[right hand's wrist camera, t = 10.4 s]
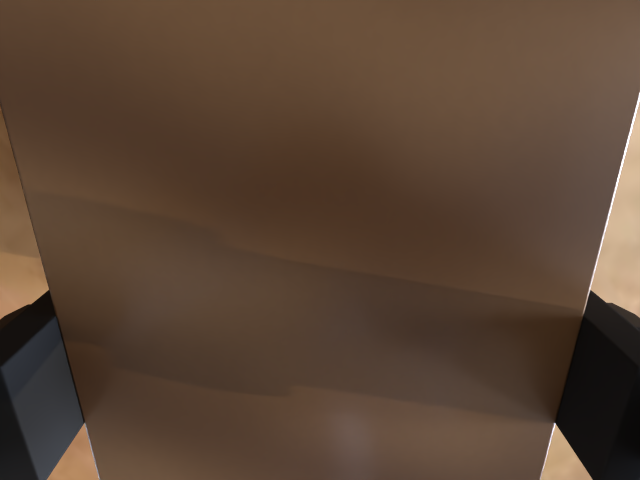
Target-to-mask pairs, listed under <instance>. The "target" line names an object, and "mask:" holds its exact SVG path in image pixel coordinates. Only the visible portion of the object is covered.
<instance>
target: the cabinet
mask: <svg viewBox="0 0 640 480" xmlns="http://www.w3.org/2000/svg"><path fill="white" fill-rule="evenodd" d="M639 100H640V0H0V105H1V109H2V112H3V116H4V120H5V124H6V128H7V131H8V135H9V139H10V143H11V147H12V150H13V154H14V158H15V162H16V165H17V169H18V173H19V177H20V181H21V184H22V188H23V192H24V196H25V200H26V203H27V207H28V211H29V215H30V219H31V222H32V226H33V230H34V234H35V238H36V241H37V245H38V249H39V253H40V256H41V260H42V264H43V268H44V272H45V275H46V279H47V283H48V287H49V291H50V294H51V298H52V302H53V306H54V310H55V313H56V317H57V321H58V325H59V328H60V332H61V336H62V340H63V344H64V347H65V351H66V355H67V359H68V363H69V366H70V370H71V374H72V378H73V382H74V385H75V389H76V393H77V397H78V401H79V404H80V408H81V412H82V416H83V419H84V423H85V427H86V431H87V435H88V438H89V442H90V446H91V450H92V454H93V457H94V461H95V465H96V469H97V473H98V476H99V480H541V476H542V472H543V469H544V465H545V461H546V457H547V453H548V449H549V446H550V442H551V438H552V434H553V430H554V426H555V423H556V419H557V415H558V411H559V407H560V403H561V400H562V396H563V392H564V388H565V384H566V380H567V377H568V373H569V369H570V365H571V361H572V357H573V354H574V350H575V346H576V342H577V338H578V334H579V330H580V327H581V323H582V319H583V315H584V311H585V307H586V304H587V300H588V296H589V292H590V288H591V284H592V281H593V277H594V273H595V269H596V265H597V261H598V258H599V254H600V250H601V246H602V242H603V238H604V235H605V231H606V227H607V223H608V219H609V215H610V212H611V208H612V204H613V200H614V196H615V192H616V189H617V185H618V181H619V177H620V173H621V169H622V166H623V162H624V158H625V154H626V150H627V146H628V143H629V139H630V135H631V131H632V127H633V123H634V120H635V116H636V112H637V108H638V104H639Z"/></svg>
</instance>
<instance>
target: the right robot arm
mask: <svg viewBox="0 0 640 480" xmlns="http://www.w3.org/2000/svg"><path fill="white" fill-rule="evenodd" d="M83 424H84V419H83V416H82V412H81V408H80V404H79V401H78V397H77V393H76V389H75V385H74V382H73V378H72V374H71V370H70V366H69V363H68V359H67V355H66V351H65V347H64V344H63V340H62V336H61V332H60V328H59V325H58V321H57V317H56V313H55V310H54V306H53V302H52V298H51V294H50V291H49V290H48V291H47V292H46V293H45V294H43V295H42V296H41V297H40V298H39V299H37V300H36V301H35V302H34V303H32V304H31V305H26V306H24V307H22V308H20V309H18V310H16V311H14V312H12V313H10V314H8V315H6V316H4V317H3V318H2V319H0V480H47V478H48V477H49V475H50V474H51V472H52V471H53V469H54V468H55V466H56V465H57V463H58V462H59V460H60V459H61V457H62V456H63V454H64V453H65V451H66V450H67V448H68V447H69V445H70V444H71V442H72V441H73V439H74V438H75V436H76V435H77V433H78V432H79V430H80V429H81V427H82V426H83ZM556 425H557V426H558V428H559V429H560V431H561V432H562V434H563V435H564V437H565V438H566V440H567V441H568V443H569V444H570V446H571V447H572V449H573V450H574V452H575V453H576V455H577V456H578V458H579V459H580V461H581V462H582V464H583V465H584V467H585V468H586V470H587V471H588V473H589V474H590V476H591V477H592V479H593V480H640V318H639V317H638V316H636V315H635V314H633V313H631V312H629V311H627V310H625V309H623V308H621V307H619V306H617V305H615V304H613V303H606V302H605V301H603V300H602V299H601V298H600V297H599V296H597V295H596V294H595V293H594V292H592V291H591V290H590V292H589V296H588V300H587V304H586V307H585V311H584V315H583V319H582V323H581V327H580V330H579V334H578V338H577V342H576V346H575V350H574V354H573V357H572V361H571V365H570V369H569V373H568V377H567V380H566V384H565V388H564V392H563V396H562V400H561V403H560V407H559V411H558V415H557V419H556Z"/></svg>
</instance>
